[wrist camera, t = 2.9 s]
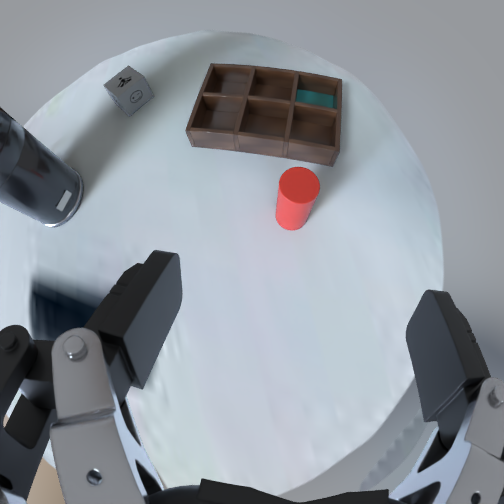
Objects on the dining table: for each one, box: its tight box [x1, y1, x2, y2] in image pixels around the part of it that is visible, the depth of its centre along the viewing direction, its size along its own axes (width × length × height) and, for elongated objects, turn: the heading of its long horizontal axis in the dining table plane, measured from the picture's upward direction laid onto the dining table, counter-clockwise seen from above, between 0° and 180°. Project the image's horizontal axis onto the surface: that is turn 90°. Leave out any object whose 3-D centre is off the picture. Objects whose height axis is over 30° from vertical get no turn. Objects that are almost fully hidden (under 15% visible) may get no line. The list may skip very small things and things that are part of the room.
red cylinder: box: [276, 167, 320, 230], centre depth 31 cm, size 4×4×9 cm
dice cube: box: [103, 66, 154, 116], centre depth 38 cm, size 5×5×5 cm
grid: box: [185, 63, 342, 167], centre depth 37 cm, size 19×13×4 cm
